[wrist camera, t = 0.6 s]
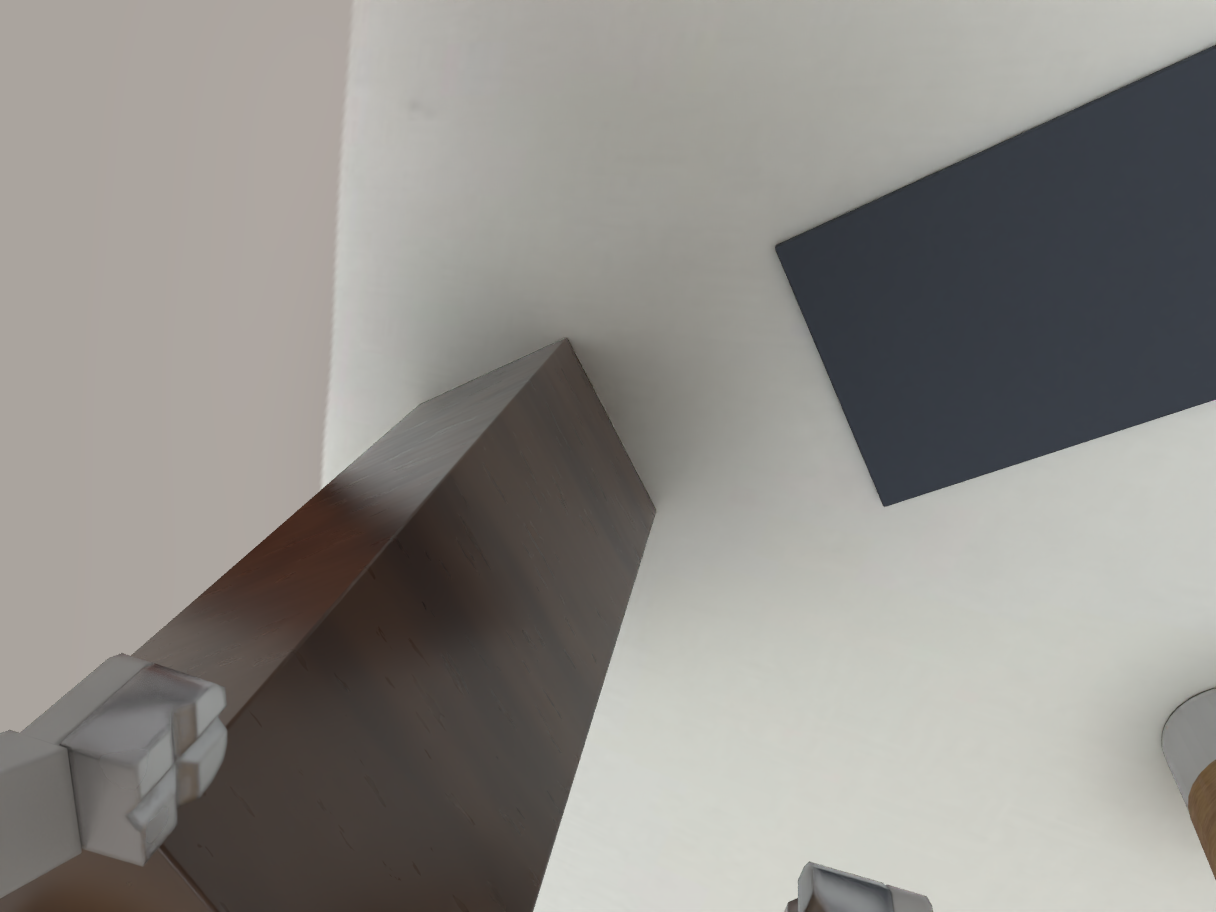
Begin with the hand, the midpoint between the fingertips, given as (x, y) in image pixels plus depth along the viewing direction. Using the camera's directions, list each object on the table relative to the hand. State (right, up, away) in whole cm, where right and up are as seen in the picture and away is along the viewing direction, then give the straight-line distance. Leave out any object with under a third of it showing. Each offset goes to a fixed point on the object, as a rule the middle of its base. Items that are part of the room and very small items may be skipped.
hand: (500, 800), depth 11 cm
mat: (+19, +11, +20) cm, 29 cm away
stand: (-2, +5, +27) cm, 27 cm away
